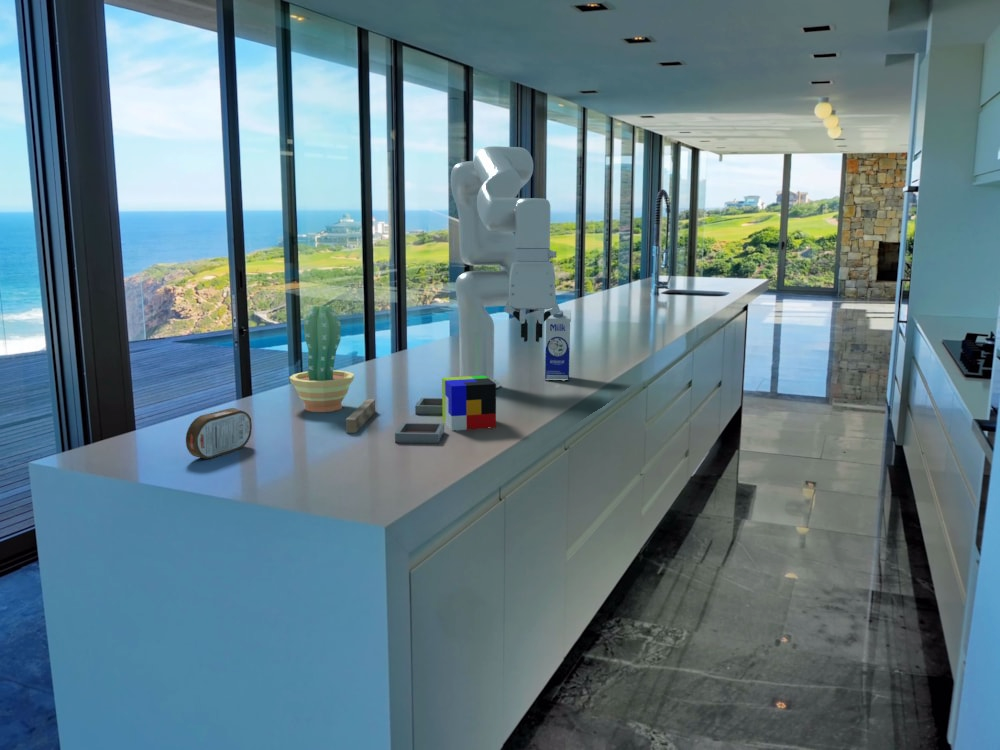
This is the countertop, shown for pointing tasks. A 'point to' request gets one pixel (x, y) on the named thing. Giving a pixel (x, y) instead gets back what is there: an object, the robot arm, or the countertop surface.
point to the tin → (218, 433)
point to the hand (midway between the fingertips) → (531, 340)
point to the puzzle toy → (468, 402)
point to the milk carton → (558, 345)
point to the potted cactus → (322, 363)
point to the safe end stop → (360, 416)
